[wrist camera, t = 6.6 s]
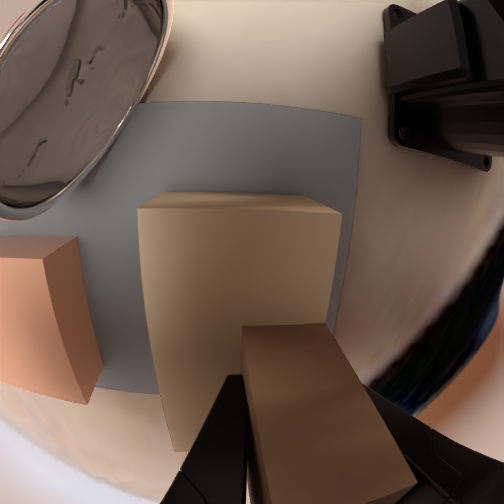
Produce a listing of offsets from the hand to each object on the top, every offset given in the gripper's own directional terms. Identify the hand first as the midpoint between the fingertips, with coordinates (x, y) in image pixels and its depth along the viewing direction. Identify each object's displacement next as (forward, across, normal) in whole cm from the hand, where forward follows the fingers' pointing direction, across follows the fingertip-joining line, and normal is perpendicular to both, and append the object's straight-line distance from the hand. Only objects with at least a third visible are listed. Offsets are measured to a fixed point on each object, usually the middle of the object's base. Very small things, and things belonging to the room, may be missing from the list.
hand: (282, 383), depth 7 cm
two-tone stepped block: (+3, +1, 0) cm, 4 cm away
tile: (+4, +10, 0) cm, 11 cm away
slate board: (+4, +9, -2) cm, 10 cm away
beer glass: (+1, +18, -15) cm, 23 cm away
